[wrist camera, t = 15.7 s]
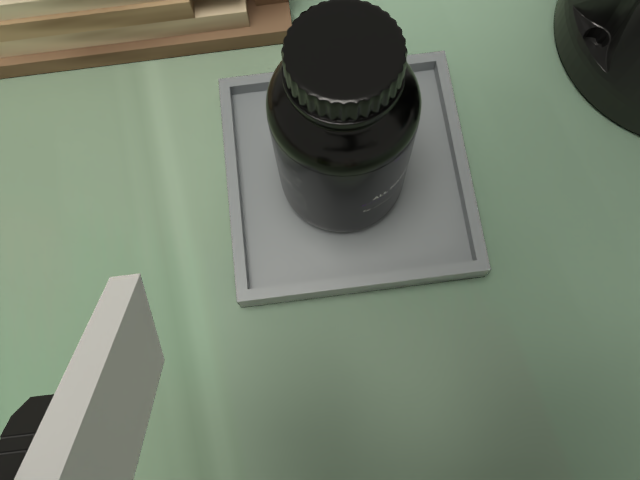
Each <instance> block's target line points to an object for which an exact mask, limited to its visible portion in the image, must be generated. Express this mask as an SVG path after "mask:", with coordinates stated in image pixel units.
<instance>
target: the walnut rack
mask: <svg viewBox="0 0 640 480" xmlns="http://www.w3.org/2000/svg"><path fill="white" fill-rule="evenodd" d="M247 3H248V13H249V22H250V27H243V28H235V29H227V30H219V31H211V32H203V33H195V34H187V35H179V36H171V37H163V38H155V39H147V40H139V41H131V42H123V43H115V44H107V45H99V46H91V47H83V48H75V49H67V50H59V51H51V52H43V53H35V54H27V55H19V56H11V57H3V58H0V79H2V78H10V77H18V76H26V75H34V74H42V73H50V72H58V71H66V70H74V69H82V68H90V67H98V66H106V65H114V64H122V63H130V62H138V61H146V60H154V59H162V58H170V57H178V56H186V55H194V54H202V53H210V52H218V51H226V50H234V49H242V48H250V47H258V46H266V45H274V44H282V43H283V39H284V38H285V36H286V35H287V29H288V28H289V27H290V26H292V23H291V15H290V8H289V0H247Z"/></svg>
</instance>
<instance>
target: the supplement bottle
mask: <svg viewBox="0 0 640 480" xmlns="http://www.w3.org/2000/svg"><path fill="white" fill-rule="evenodd" d="M405 45H406V39H405V38H404V37H403V35H402V29H401V28H400V27H399V26H397V22H396V20H394V19H393V18H391V17H390V15H389V13H388V12H386V11H383V10H382V9H381V8H380V7H379V6H375V5H372V4H371V3H369V2H367V1H360V0H329V1H323V2H320V3H319V4H318V5H314V6H311V7H310V8H309V9H308V10H307V11H304V12H302V13H301V14H300V16H299V17H298V18H297V19H295V20H294V21H293V23H292V26H290V27H289V28H288V29H287V35H286V36H285V38H284V39H283V48H282V51H281V54H282V61H281V62H280V64H279V65H278V66H277V68H276V70H275V71H274V73H273V75H272V77H271V79H270V82H269V85H268V89H267V94H266V114H267V121H268V126H269V130H270V135H271V140H272V144H273V149H274V153H275V158H276V163H277V167H278V172H279V176H280V181H281V184H282V188H283V191H284V194H285V196H286V199H287V201H288V202H289V204H290V206H291V207H292V208H293V210H294V211H295V212H296V213H297V214H298V215H299V216H300V217H301V218H302V219H304V220H305V221H307V222H308V223H310V224H312V225H314V226H316V227H318V228H321V229H324V230H328V231H333V232H351V231H357V230H360V229H364V228H366V227H369V226H371V225H373V224H374V223H376V222H378V221H379V220H381V219H382V218H383V217H384V216H385V215H386V214H387V213H388V212H389V211H390V210H391V209H392V208H393V206H394V205H395V203H396V201H397V199H398V197H399V195H400V193H401V190H402V187H403V184H404V180H405V176H406V172H407V168H408V164H409V160H410V156H411V153H412V149H413V145H414V141H415V137H416V133H417V129H418V125H419V121H420V115H421V104H422V100H421V92H420V87H419V84H418V81H417V78H416V76H415V74H414V72H413V70H412V68H411V67H410V65H409V64H408V63H407V61H406V59H407V48H406V46H405Z"/></svg>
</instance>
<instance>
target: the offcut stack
mask: <svg viewBox="0 0 640 480" xmlns="http://www.w3.org/2000/svg"><path fill="white" fill-rule="evenodd" d="M243 27H250V22H249V13H248V3H247V0H0V58H3V57H11V56H19V55H27V54H35V53H43V52H51V51H59V50H67V49H75V48H83V47H91V46H99V45H107V44H115V43H123V42H131V41H139V40H147V39H155V38H163V37H171V36H179V35H187V34H195V33H203V32H211V31H219V30H227V29H235V28H243Z"/></svg>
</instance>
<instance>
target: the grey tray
mask: <svg viewBox="0 0 640 480" xmlns="http://www.w3.org/2000/svg"><path fill="white" fill-rule="evenodd" d="M406 61H407V63H408V64H409V65H410V67H411V68H412V70H413V72H414V74H415V76H416V78H417V81H418V84H419V87H420V92H421V100H422V104H421V115H420V121H419V125H418V129H417V133H416V137H415V141H414V145H413V149H412V153H411V156H410V160H409V164H408V168H407V172H406V176H405V180H404V184H403V187H402V190H401V193H400V195H399V197H398V199H397V201H396V203H395V205H394V206H393V208H392V209H391V210H390V211H389V212H388V213H387V214H386V215H385V216H384V217H383V218H382V219H381V220H379V221H378V222H376V223H374V224H373V225H371V226H369V227H366V228H364V229H360V230H357V231H351V232H333V231H328V230H324V229H321V228H318V227H316V226H314V225H312V224H310V223H308V222H307V221H305V220H304V219H302V218H301V217H300V216H299V215H298V214H297V213H296V212H295V211H294V210H293V208H292V207H291V206H290V204H289V202H288V201H287V199H286V196H285V194H284V191H283V188H282V184H281V181H280V176H279V172H278V167H277V163H276V158H275V153H274V149H273V144H272V140H271V135H270V130H269V126H268V121H267V114H266V94H267V89H268V85H269V82H270V79H271V77H272V75H273V73H274V72H270V73H262V74H254V75H246V76H238V77H230V78H222V79H218V80H219V92H220V104H221V116H222V128H223V140H224V152H225V164H226V176H227V188H228V200H229V212H230V224H231V236H232V248H233V260H234V272H235V284H236V296H237V303H238V304H239V305H240V306H241V307H249V306H257V305H265V304H273V303H281V302H289V301H297V300H304V299H312V298H320V297H328V296H336V295H344V294H352V293H360V292H367V291H375V290H383V289H391V288H399V287H407V286H415V285H423V284H430V283H438V282H446V281H454V280H462V279H470V278H478V277H485V275H486V274H487V273H488V272H489V271H490V270H491V268H490V263H489V259H488V254H487V249H486V244H485V240H484V235H483V230H482V225H481V221H480V216H479V211H478V206H477V202H476V197H475V192H474V188H473V183H472V178H471V173H470V169H469V164H468V159H467V154H466V150H465V145H464V140H463V135H462V131H461V126H460V121H459V117H458V112H457V107H456V102H455V98H454V93H453V88H452V83H451V79H450V74H449V69H448V64H447V60H446V55H445V51H438V52H430V53H422V54H414V55H407V59H406Z"/></svg>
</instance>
